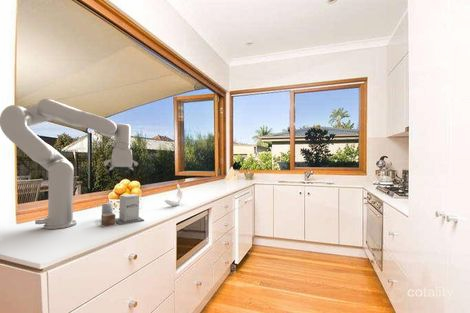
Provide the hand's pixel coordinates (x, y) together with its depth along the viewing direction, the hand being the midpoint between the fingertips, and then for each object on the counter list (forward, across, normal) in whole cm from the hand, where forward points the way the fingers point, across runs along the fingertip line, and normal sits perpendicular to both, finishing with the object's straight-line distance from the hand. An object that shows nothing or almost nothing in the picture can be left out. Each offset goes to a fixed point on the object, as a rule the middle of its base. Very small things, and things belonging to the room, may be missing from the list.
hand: (120, 177), depth 127 cm
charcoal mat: (+22, +3, -7) cm, 23 cm away
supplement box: (+22, +3, -7) cm, 23 cm away
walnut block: (+22, -7, -10) cm, 25 cm away
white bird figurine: (+22, +39, +16) cm, 47 cm away
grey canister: (+22, -6, +2) cm, 23 cm away
